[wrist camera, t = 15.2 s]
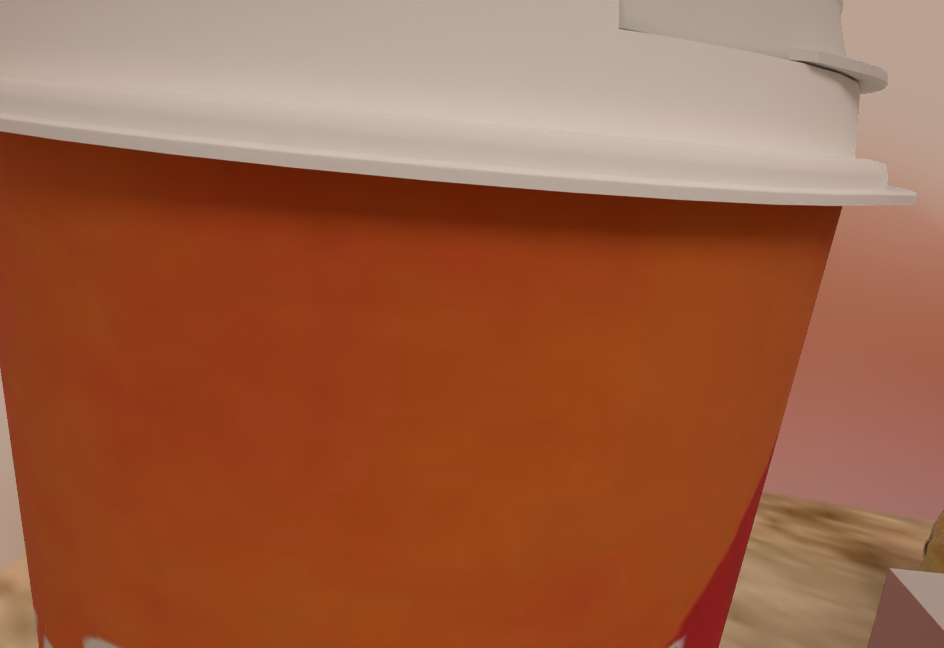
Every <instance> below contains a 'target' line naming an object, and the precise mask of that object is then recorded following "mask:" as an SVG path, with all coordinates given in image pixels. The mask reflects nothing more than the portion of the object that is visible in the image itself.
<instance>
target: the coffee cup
mask: <svg viewBox="0 0 944 648" xmlns="http://www.w3.org/2000/svg"><path fill="white" fill-rule="evenodd" d="M842 9H843V0H0V369H1V376H2V382H3V390H4V398H5V404H6V411H7V419H8V426H9V433H10V440H11V448H12V455H13V462H14V469H15V476H16V484H17V491H18V497H19V505H20V512H21V520H22V527H23V534H24V541H25V549H26V556H27V563H28V570H29V577H30V585H31V592H32V599H33V606H34V614H35V621H36V628H37V635H38V643H39V648H718V647H719V644H720V640H721V637H722V633H723V630H724V626H725V622H726V619H727V615H728V612H729V608H730V604H731V601H732V597H733V594H734V590H735V587H736V583H737V579H738V576H739V572H740V569H741V565H742V562H743V558H744V554H745V551H746V547H747V544H748V540H749V537H750V533H751V530H752V526H753V522H754V519H755V515H756V512H757V508H758V505H759V501H760V497H761V494H762V490H763V487H764V483H765V479H766V476H767V473H768V469H769V465H770V462H771V458H772V454H773V451H774V448H775V444H776V441H777V437H778V433H779V430H780V426H781V423H782V419H783V416H784V412H785V408H786V405H787V401H788V398H789V394H790V391H791V387H792V384H793V380H794V376H795V373H796V369H797V366H798V362H799V359H800V355H801V351H802V348H803V344H804V340H805V337H806V334H807V330H808V326H809V323H810V319H811V316H812V312H813V309H814V305H815V302H816V298H817V294H818V291H819V287H820V284H821V280H822V277H823V273H824V269H825V266H826V262H827V259H828V255H829V252H830V248H831V245H832V241H833V237H834V234H835V230H836V226H837V223H838V219H839V216H840V212H841V209H842V206H854V205H915V203H916V199H917V194H916V193H915V192H914V191H911V190H907V189H903V188H900V187H896V186H891V185H887V183H888V173H887V169H886V165H885V164H883V163H880V162H878V161H875V160H871V159H863V158H855V152H856V138H857V124H858V110H859V97H860V94H866V93H873V92H876V91H880V90H882V89H884V88H885V87H886V86H887V79H888V75H887V72H886V71H884V70H883V69H881V68H879V67H876V66H873V65H870V64H866V63H864V62H860V61H856V60H852V59H848V58H846V54H845V48H844V41H843V34H842V27H841V14H842Z"/></svg>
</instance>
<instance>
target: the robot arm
mask: <svg viewBox="0 0 944 648" xmlns="http://www.w3.org/2000/svg"><path fill="white" fill-rule="evenodd" d="M867 648H944V574H942V573H932V572H923V571H914V570H904V569H895V568H889V570H888V574H887V578H886V581H885V585H884V589H883V592H882V596H881V600H880V603H879V607H878V610H877V614H876V618H875V621H874V625H873V629H872V632H871V636H870V640H869V643H868V647H867Z"/></svg>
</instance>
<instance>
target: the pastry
mask: <svg viewBox="0 0 944 648" xmlns="http://www.w3.org/2000/svg"><path fill="white" fill-rule="evenodd" d="M923 552H924V560H923V562H922V565H921V567H920V569H919V571H923V572H932V573H942V574H944V510H943V512H942V513H941V514H940V515H939V517H938V519H937V520H936V522H935V523H934V525H933V528H932V531H931V535H930V537H929V538H928V540H927V541H926V543H925V545H924V550H923Z"/></svg>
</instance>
